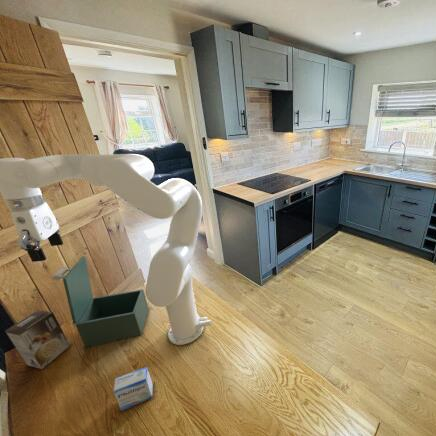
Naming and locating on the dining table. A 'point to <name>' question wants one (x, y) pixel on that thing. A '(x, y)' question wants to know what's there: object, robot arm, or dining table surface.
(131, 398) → the medicine box
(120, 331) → the green box
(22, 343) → the coffee box
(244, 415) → the dining table surface
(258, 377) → the dining table surface
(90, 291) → the box lid
